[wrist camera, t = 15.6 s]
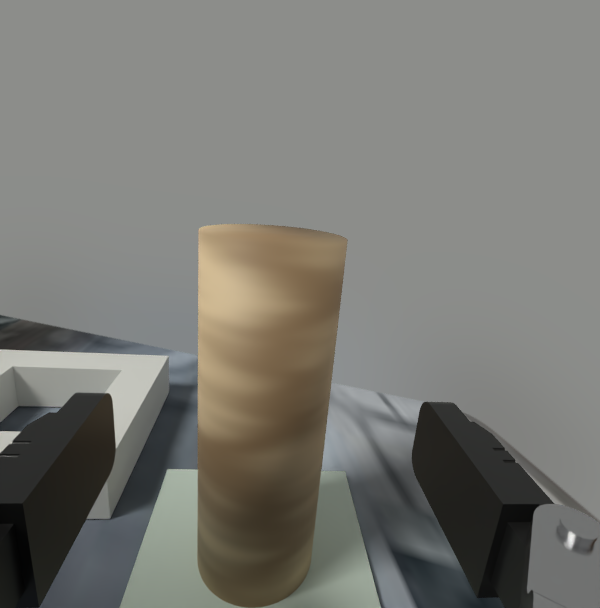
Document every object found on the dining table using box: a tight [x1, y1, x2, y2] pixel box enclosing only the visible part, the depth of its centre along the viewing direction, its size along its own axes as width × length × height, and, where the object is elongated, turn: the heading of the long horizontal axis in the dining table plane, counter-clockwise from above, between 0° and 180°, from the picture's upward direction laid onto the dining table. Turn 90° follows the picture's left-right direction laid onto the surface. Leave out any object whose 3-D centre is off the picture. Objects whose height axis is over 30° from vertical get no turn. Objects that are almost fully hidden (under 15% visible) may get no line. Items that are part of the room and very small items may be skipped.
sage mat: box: [120, 469, 381, 608], centre depth 18 cm, size 10×10×1 cm
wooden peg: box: [197, 224, 347, 608], centre depth 16 cm, size 5×5×14 cm
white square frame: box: [0, 349, 169, 519], centre depth 24 cm, size 12×12×3 cm
